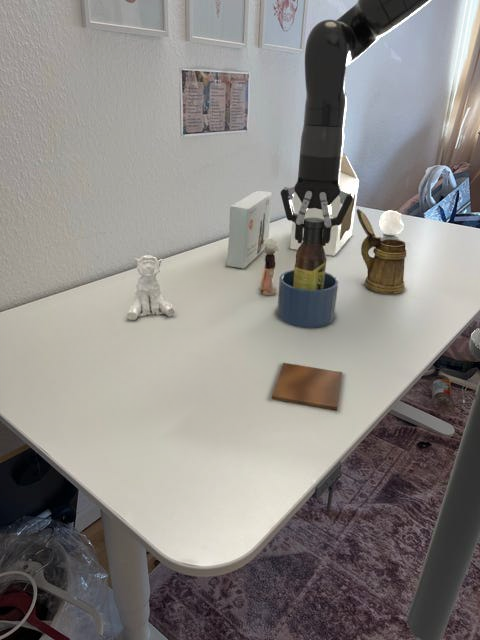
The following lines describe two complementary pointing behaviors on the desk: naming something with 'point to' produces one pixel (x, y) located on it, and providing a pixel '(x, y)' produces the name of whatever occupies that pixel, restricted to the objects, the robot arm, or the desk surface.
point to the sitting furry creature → (148, 290)
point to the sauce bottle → (310, 257)
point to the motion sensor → (391, 223)
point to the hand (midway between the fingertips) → (312, 243)
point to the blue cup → (306, 302)
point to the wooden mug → (382, 260)
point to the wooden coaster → (308, 386)
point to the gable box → (333, 211)
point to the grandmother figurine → (269, 267)
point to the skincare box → (248, 228)
